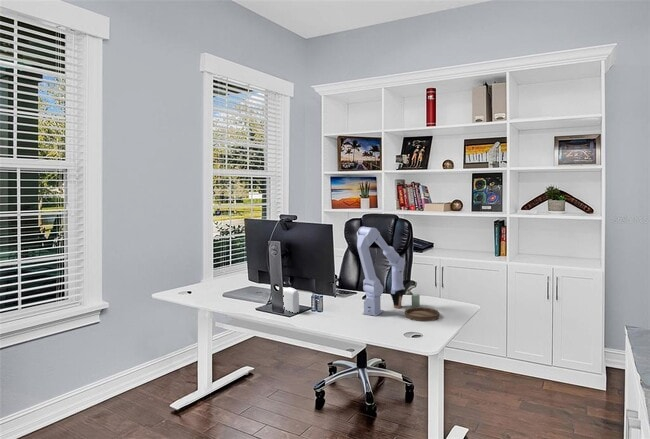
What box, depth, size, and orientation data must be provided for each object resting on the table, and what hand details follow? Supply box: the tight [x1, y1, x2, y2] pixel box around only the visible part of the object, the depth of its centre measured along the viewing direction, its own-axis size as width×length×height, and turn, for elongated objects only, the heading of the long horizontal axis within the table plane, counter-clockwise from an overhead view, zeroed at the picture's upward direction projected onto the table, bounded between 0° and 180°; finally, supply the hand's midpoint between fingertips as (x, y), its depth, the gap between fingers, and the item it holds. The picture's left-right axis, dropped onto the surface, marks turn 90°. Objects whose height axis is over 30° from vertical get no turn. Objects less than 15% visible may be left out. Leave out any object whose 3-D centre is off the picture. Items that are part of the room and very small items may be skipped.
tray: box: [404, 306, 440, 322], centre depth 227 cm, size 16×16×2 cm
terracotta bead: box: [393, 296, 403, 309], centre depth 243 cm, size 4×4×6 cm
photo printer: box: [282, 286, 300, 314], centre depth 240 cm, size 10×4×12 cm, turn 39°
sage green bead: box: [411, 293, 421, 308], centre depth 245 cm, size 4×4×6 cm
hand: (397, 304), depth 243 cm, fingers closed on terracotta bead, 4 cm apart
